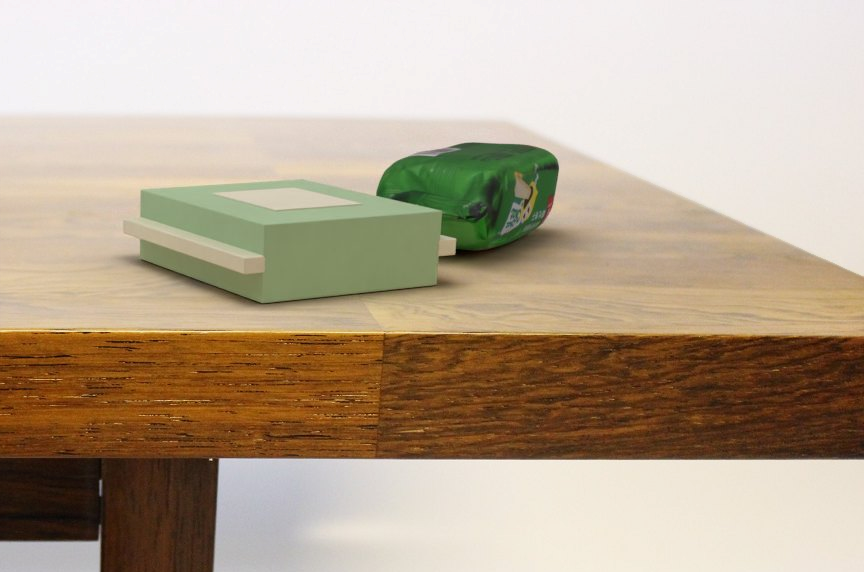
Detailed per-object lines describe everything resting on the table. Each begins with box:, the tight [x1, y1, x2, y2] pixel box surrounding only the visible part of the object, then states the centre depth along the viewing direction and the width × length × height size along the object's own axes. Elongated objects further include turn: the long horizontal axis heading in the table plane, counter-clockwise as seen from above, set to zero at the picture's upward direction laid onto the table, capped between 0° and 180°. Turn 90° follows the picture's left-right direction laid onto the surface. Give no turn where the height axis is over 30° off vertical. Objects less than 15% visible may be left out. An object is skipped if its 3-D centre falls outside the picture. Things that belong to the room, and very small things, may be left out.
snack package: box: [375, 141, 560, 251], centre depth 82 cm, size 7×16×5 cm, turn 149°
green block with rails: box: [122, 178, 457, 304], centre depth 74 cm, size 12×12×4 cm
